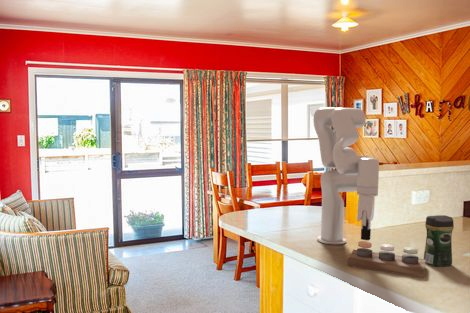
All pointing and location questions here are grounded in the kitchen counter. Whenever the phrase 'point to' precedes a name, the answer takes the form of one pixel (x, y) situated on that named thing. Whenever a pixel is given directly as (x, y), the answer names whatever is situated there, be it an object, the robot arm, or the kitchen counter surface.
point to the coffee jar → (438, 240)
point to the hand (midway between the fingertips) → (365, 239)
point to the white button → (387, 247)
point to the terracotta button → (364, 244)
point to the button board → (387, 262)
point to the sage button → (410, 250)
